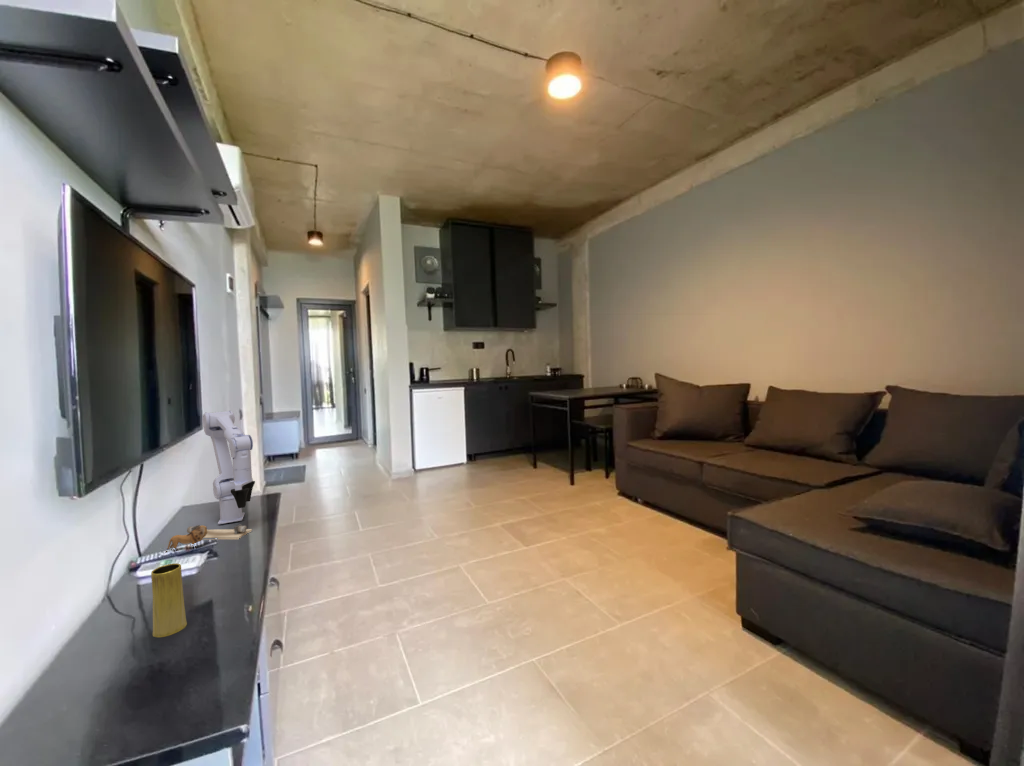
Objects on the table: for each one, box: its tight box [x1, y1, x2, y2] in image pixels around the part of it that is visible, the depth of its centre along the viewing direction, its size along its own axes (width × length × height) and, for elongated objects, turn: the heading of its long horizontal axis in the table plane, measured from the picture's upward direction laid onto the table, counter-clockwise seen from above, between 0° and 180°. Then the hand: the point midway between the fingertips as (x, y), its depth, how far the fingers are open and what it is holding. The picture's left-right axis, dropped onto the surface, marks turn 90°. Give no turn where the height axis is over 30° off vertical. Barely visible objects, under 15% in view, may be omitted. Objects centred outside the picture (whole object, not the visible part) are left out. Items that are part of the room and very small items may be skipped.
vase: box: [150, 562, 188, 638], centre depth 95 cm, size 6×6×14 cm
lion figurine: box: [166, 525, 208, 550], centre depth 139 cm, size 12×4×7 cm, turn 121°
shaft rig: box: [186, 523, 253, 540], centre depth 150 cm, size 7×21×4 cm, turn 88°
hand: (244, 504), depth 156 cm, fingers open, 7 cm apart
